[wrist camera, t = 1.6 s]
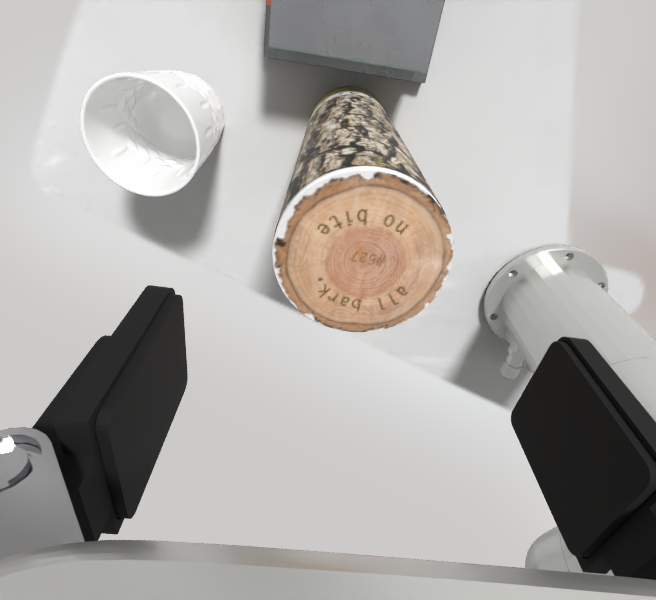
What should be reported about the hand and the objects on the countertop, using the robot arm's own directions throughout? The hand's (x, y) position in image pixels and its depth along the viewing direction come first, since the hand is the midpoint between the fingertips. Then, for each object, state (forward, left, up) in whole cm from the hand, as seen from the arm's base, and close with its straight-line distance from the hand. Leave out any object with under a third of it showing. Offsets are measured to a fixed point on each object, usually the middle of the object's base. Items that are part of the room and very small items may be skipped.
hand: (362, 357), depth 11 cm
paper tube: (0, 0, -31) cm, 31 cm away
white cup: (-1, +14, -31) cm, 34 cm away
